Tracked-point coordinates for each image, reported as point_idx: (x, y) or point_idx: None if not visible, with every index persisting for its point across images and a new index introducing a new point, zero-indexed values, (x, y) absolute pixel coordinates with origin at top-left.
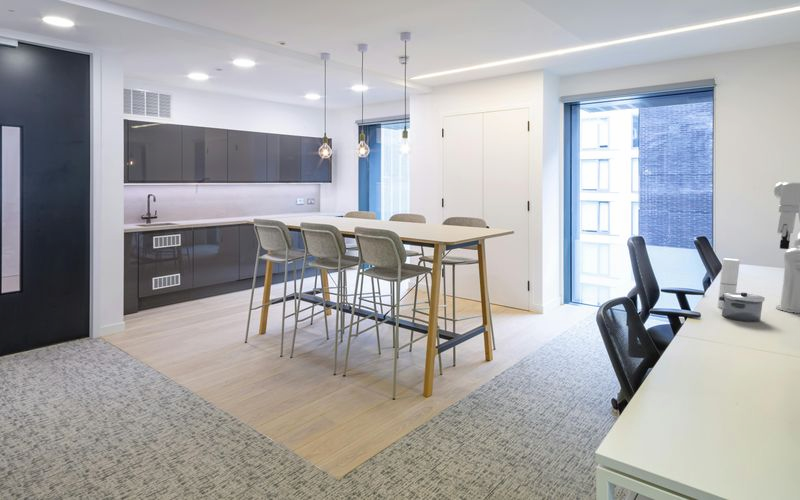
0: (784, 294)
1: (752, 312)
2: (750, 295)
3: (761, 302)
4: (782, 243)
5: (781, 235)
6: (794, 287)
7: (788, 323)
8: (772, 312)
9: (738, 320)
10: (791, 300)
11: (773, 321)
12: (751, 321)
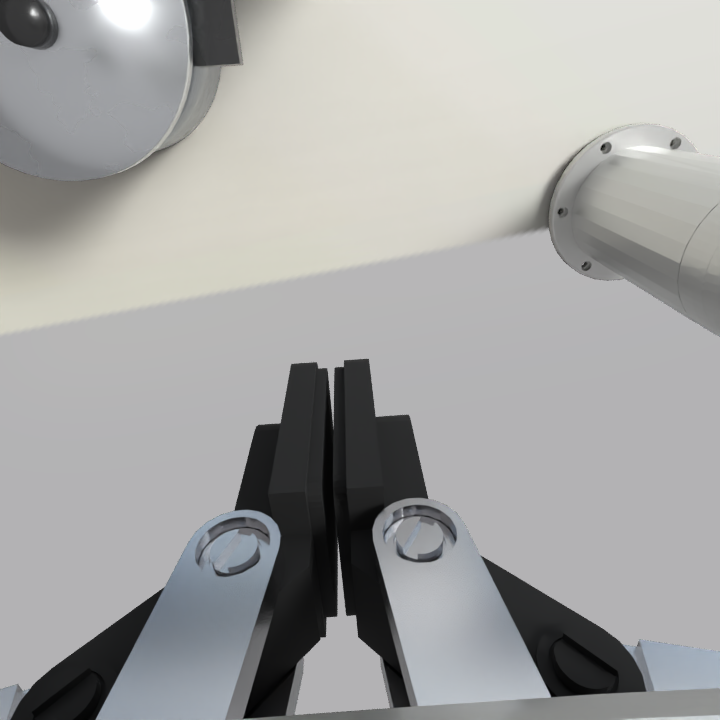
0: (640, 183)
1: None
2: (113, 60)
3: None
4: (248, 476)
5: (118, 688)
6: (647, 256)
7: (240, 267)
8: (468, 142)
9: None
10: (598, 224)
11: (213, 206)
12: None
